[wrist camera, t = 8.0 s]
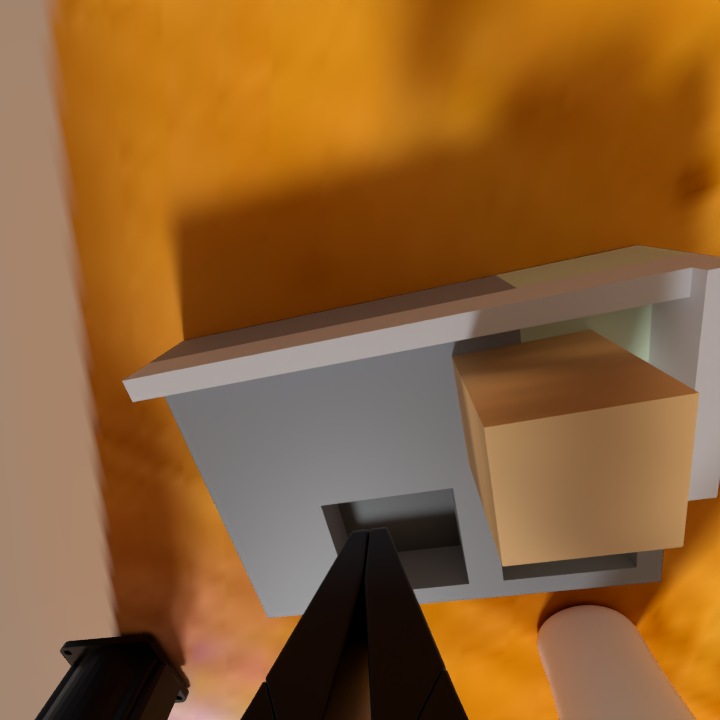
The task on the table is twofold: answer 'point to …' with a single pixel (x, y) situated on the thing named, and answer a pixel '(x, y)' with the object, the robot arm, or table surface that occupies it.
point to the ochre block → (576, 447)
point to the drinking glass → (604, 668)
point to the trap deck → (418, 419)
